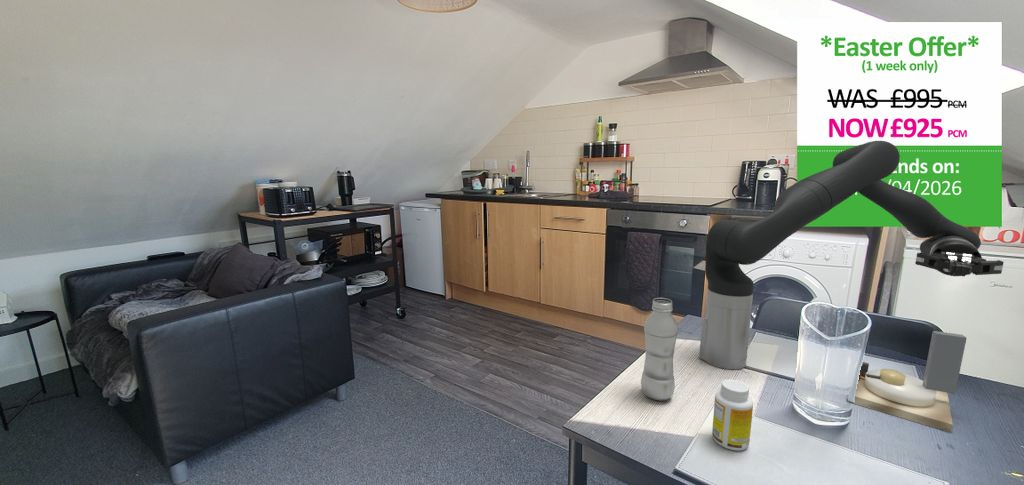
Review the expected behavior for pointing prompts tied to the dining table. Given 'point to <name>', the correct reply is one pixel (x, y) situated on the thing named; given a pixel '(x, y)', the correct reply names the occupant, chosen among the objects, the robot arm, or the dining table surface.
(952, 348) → the dial
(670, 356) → the plastic bottle
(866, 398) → the level stand
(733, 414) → the supplement bottle
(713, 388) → the dining table surface
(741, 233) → the robot arm
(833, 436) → the dining table surface
